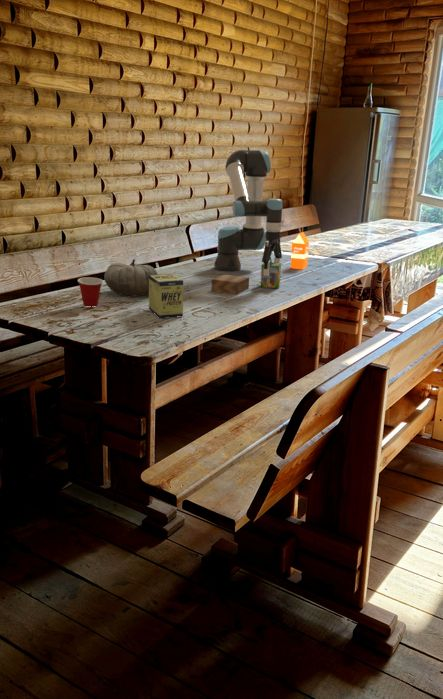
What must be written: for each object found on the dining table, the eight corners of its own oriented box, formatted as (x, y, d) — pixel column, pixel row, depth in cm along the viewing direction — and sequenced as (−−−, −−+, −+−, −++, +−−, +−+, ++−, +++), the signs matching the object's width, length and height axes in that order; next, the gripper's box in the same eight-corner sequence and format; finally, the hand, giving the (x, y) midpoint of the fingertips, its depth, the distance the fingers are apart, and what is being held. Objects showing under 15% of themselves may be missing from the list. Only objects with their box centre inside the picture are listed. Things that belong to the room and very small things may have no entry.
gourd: (127, 297, 301) (125, 258, 299) (93, 297, 318) (91, 259, 316) (168, 295, 319) (167, 258, 317) (134, 294, 336) (133, 259, 334)
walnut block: (211, 291, 331) (211, 279, 329) (222, 286, 343) (223, 274, 341) (237, 294, 325) (238, 282, 324) (248, 289, 338) (249, 277, 336)
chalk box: (278, 289, 339) (280, 259, 334) (260, 287, 340) (261, 258, 336) (280, 285, 347) (282, 256, 343) (262, 283, 349) (264, 255, 344)
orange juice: (290, 268, 390) (292, 233, 384) (294, 265, 398) (296, 231, 392) (303, 269, 387) (305, 234, 381) (307, 266, 395) (309, 232, 389)
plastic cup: (92, 311, 289) (91, 283, 285) (73, 307, 294) (72, 280, 290) (108, 306, 297) (108, 279, 294) (90, 302, 303) (89, 275, 299)
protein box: (159, 319, 280) (159, 282, 275) (148, 309, 294) (148, 274, 289) (183, 317, 284) (184, 280, 279) (171, 307, 298) (171, 273, 293)
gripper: (270, 234, 323) (268, 278, 329) (289, 228, 344) (287, 270, 350) (256, 232, 326) (254, 276, 332) (275, 227, 347) (273, 268, 354)
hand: (271, 273), depth 341 cm, fingers open, 13 cm apart
